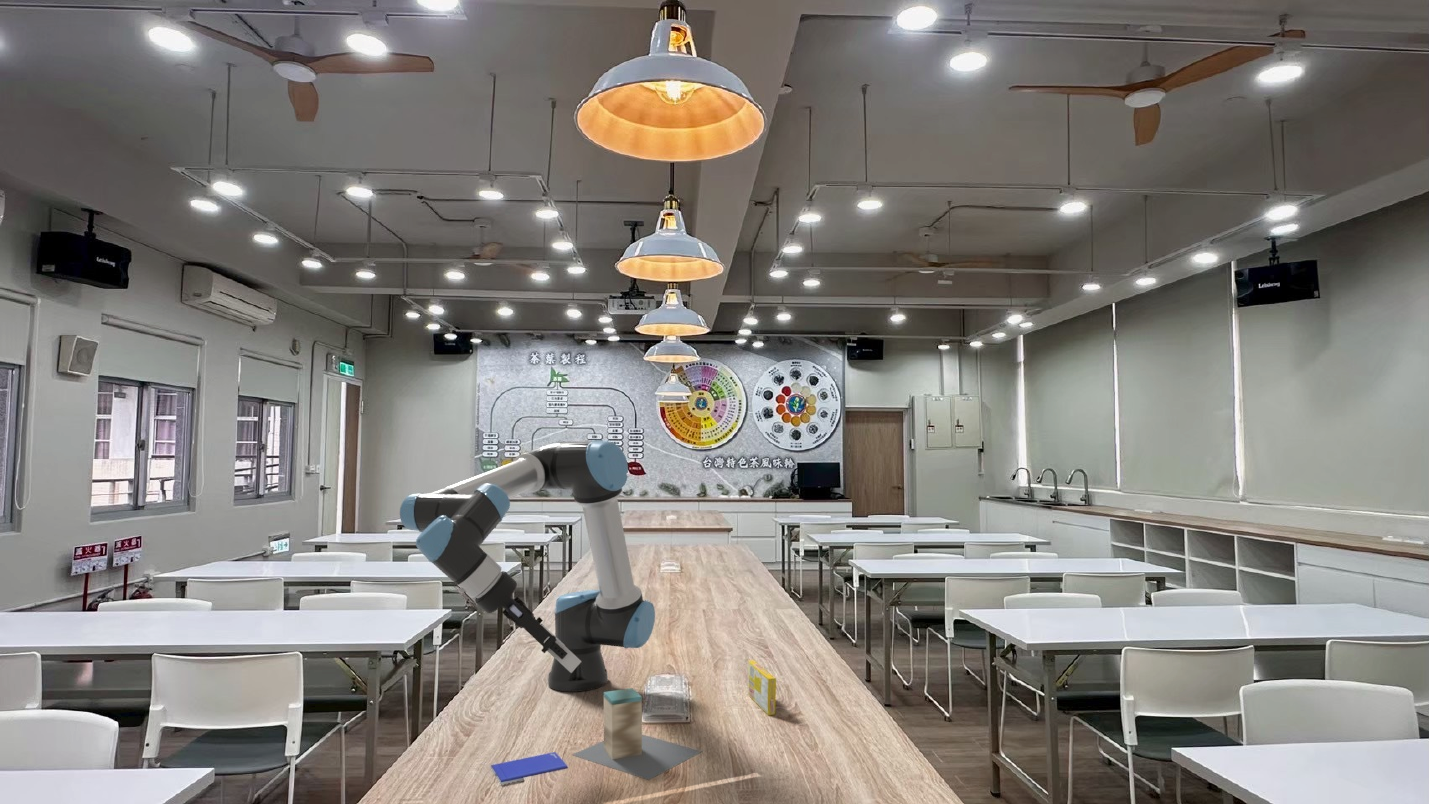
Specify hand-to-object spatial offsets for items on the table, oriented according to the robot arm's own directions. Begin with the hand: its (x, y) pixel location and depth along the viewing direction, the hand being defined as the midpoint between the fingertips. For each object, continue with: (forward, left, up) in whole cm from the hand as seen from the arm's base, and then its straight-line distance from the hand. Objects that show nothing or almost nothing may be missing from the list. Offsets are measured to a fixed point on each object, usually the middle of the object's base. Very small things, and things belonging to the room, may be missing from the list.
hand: (567, 658), depth 149 cm
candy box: (+11, +51, -20) cm, 56 cm away
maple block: (+5, +10, -19) cm, 22 cm away
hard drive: (-4, -6, -21) cm, 22 cm away
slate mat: (+8, +11, -20) cm, 24 cm away
